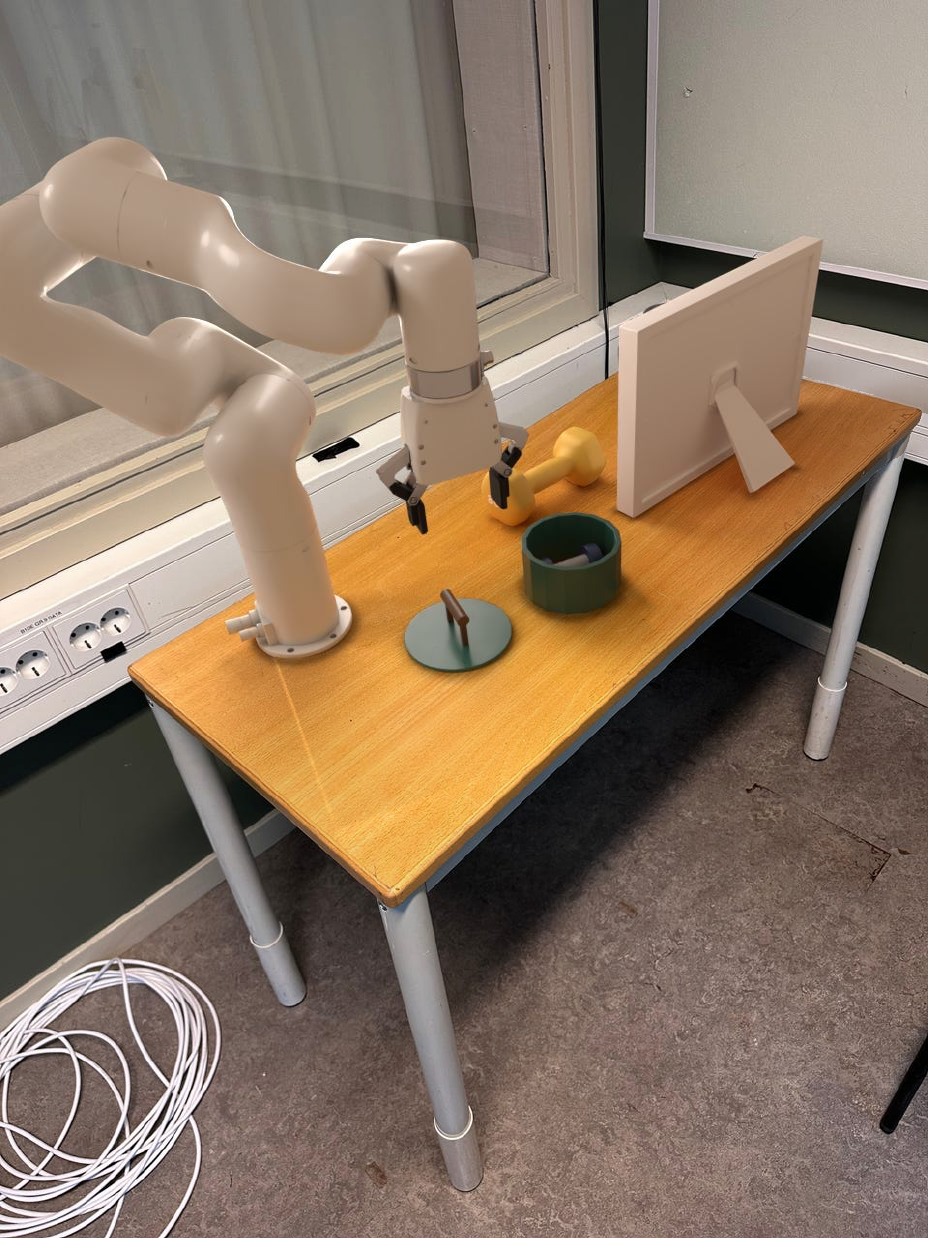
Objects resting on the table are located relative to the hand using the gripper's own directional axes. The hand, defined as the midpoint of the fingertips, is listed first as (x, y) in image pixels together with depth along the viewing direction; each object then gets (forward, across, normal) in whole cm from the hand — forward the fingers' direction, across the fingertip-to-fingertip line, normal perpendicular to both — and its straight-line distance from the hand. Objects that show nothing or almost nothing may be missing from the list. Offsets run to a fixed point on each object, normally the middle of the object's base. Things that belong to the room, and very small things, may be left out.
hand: (460, 515), depth 100 cm
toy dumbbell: (+17, -15, -2) cm, 22 cm away
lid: (+17, +2, 0) cm, 17 cm away
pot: (+17, -15, -2) cm, 23 cm away
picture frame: (+17, -50, -14) cm, 55 cm away
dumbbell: (+17, -21, -22) cm, 35 cm away
